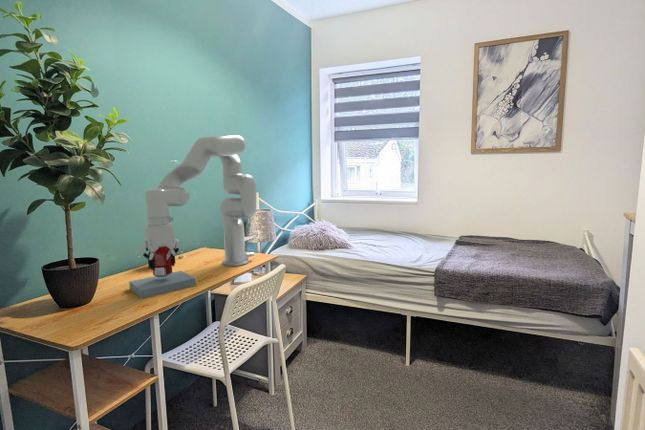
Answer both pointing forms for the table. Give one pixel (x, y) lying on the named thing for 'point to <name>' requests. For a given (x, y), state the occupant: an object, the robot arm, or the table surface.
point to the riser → (162, 284)
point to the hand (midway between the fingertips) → (162, 267)
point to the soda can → (162, 262)
